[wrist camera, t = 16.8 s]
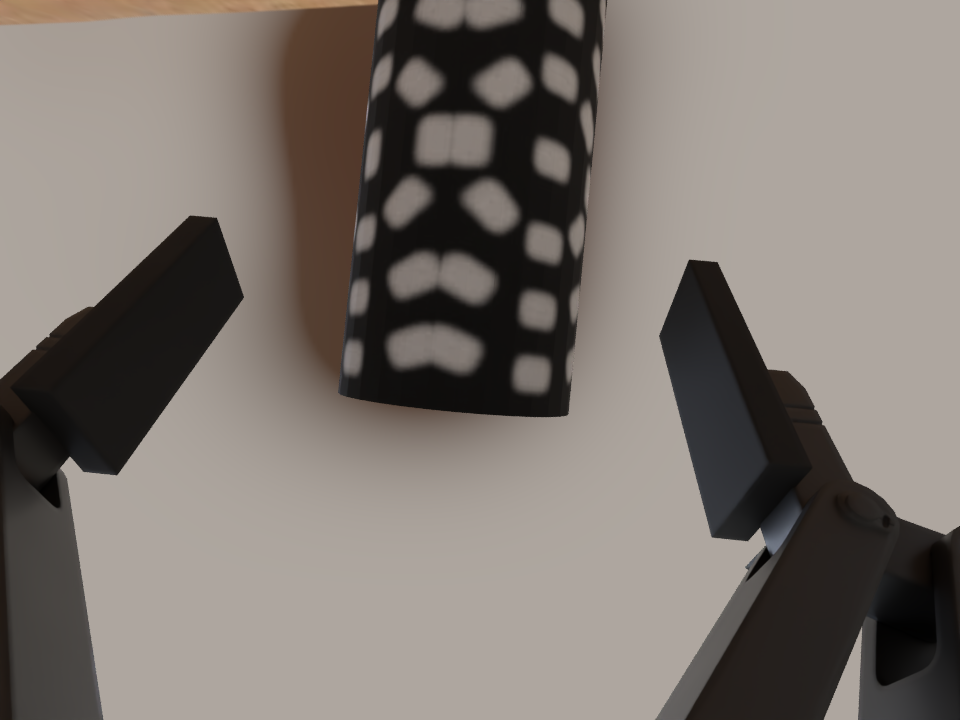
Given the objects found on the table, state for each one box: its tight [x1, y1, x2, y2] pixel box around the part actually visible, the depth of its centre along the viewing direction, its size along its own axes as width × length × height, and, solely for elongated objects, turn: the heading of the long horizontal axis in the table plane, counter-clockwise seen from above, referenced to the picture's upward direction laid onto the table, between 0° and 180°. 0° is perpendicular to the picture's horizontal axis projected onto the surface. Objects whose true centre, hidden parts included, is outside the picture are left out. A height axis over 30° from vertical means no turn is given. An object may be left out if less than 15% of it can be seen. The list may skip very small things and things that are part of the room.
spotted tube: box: [338, 0, 607, 417], centre depth 19 cm, size 8×8×20 cm
